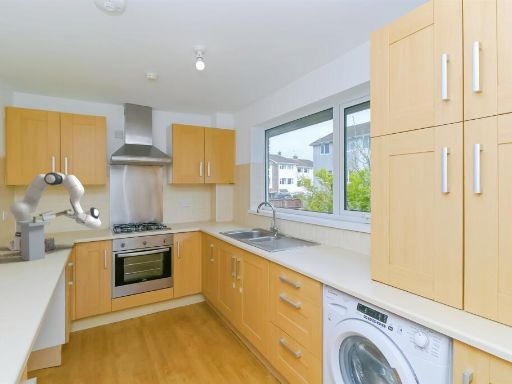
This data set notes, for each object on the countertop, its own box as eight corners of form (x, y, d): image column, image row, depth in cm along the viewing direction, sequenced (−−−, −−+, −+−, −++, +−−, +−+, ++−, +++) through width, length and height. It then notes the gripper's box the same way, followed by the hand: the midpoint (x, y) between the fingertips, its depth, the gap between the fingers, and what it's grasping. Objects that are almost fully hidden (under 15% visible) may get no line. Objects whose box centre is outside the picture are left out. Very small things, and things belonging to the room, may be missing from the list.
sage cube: (32, 222, 194) (32, 216, 194) (39, 221, 197) (39, 216, 197) (35, 222, 192) (35, 216, 192) (42, 222, 195) (42, 216, 195)
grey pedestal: (17, 258, 198) (16, 221, 197) (37, 254, 208) (36, 219, 207) (29, 262, 189) (29, 223, 188) (50, 257, 199) (49, 221, 199)
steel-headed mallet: (40, 220, 204) (38, 213, 203) (69, 211, 221) (67, 205, 219) (44, 220, 201) (42, 214, 200) (72, 212, 218) (71, 206, 217)
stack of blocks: (49, 248, 229) (49, 233, 228) (54, 249, 226) (54, 234, 226) (19, 254, 209) (19, 238, 208) (24, 255, 206) (24, 238, 206)
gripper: (76, 214, 233) (60, 207, 222) (90, 215, 223) (74, 208, 212) (72, 221, 230) (56, 214, 220) (87, 222, 220) (70, 215, 210)
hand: (65, 211), depth 216 cm, fingers closed on steel-headed mallet, 2 cm apart
